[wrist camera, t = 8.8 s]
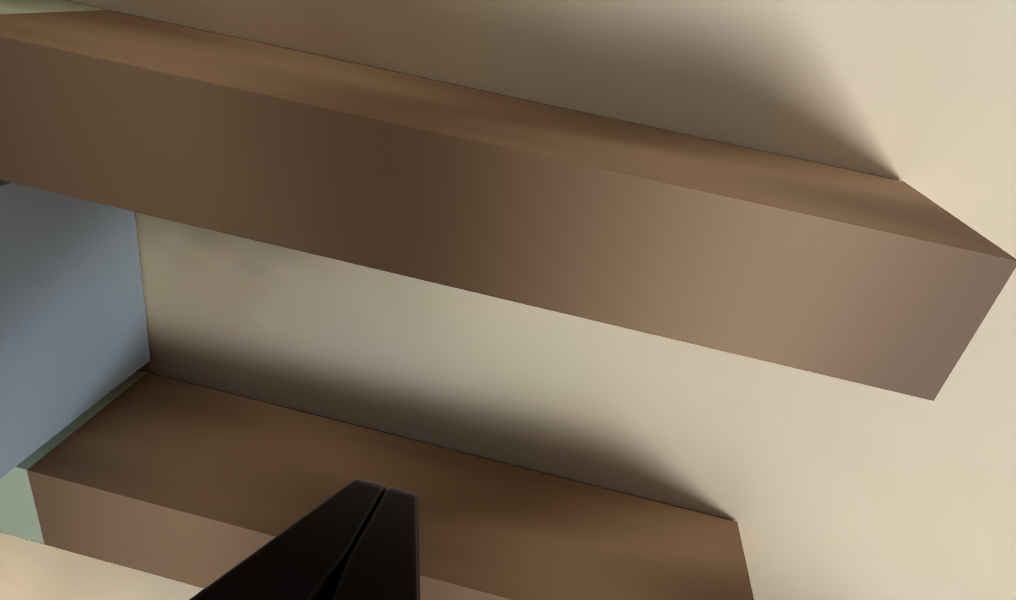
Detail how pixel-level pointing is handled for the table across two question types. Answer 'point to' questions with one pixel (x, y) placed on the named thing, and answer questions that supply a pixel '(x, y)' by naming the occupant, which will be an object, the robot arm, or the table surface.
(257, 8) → the table surface
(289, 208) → the u-shaped frame
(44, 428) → the block
